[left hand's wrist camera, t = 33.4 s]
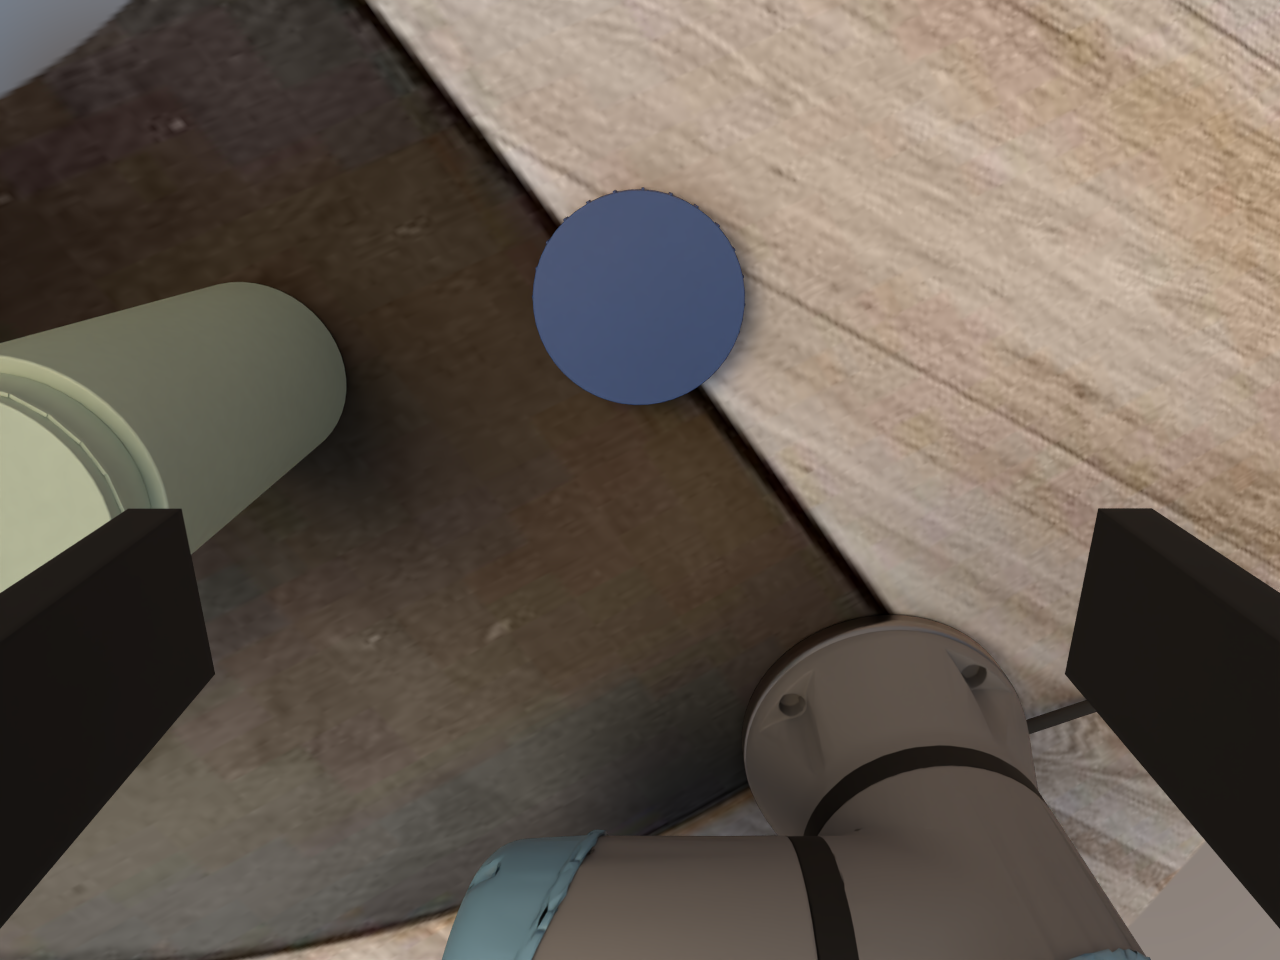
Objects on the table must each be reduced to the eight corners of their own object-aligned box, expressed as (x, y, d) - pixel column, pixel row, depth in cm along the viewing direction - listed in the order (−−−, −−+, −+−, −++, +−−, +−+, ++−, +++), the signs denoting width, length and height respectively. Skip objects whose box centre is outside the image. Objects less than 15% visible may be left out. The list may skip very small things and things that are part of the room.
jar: (172, 257, 39) (-202, 326, 21) (362, 314, 40) (149, 424, 22) (152, 432, 42) (-192, 618, 24) (329, 482, 42) (118, 695, 25)
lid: (523, 199, 38) (517, 200, 36) (734, 178, 38) (740, 178, 35) (551, 402, 41) (546, 414, 39) (745, 385, 41) (751, 396, 39)
